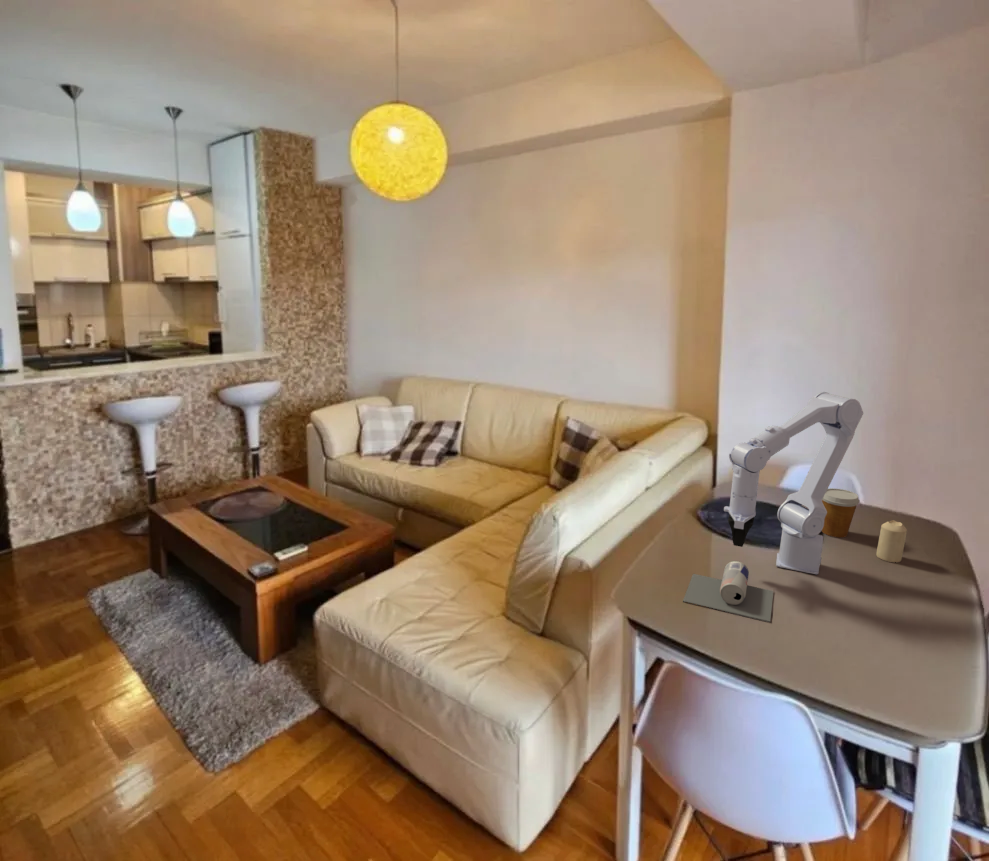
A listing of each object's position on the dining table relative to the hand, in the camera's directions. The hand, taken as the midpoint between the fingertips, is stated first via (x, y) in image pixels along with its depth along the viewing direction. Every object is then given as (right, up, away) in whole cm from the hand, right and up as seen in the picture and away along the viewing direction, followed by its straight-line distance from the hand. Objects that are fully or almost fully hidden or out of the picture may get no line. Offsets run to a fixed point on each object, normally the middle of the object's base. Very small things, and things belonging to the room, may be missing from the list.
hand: (738, 545), depth 145 cm
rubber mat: (-6, -10, -9) cm, 15 cm away
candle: (+43, -5, +9) cm, 44 cm away
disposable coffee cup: (+37, -1, +24) cm, 44 cm away
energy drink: (-2, -5, -4) cm, 7 cm away
